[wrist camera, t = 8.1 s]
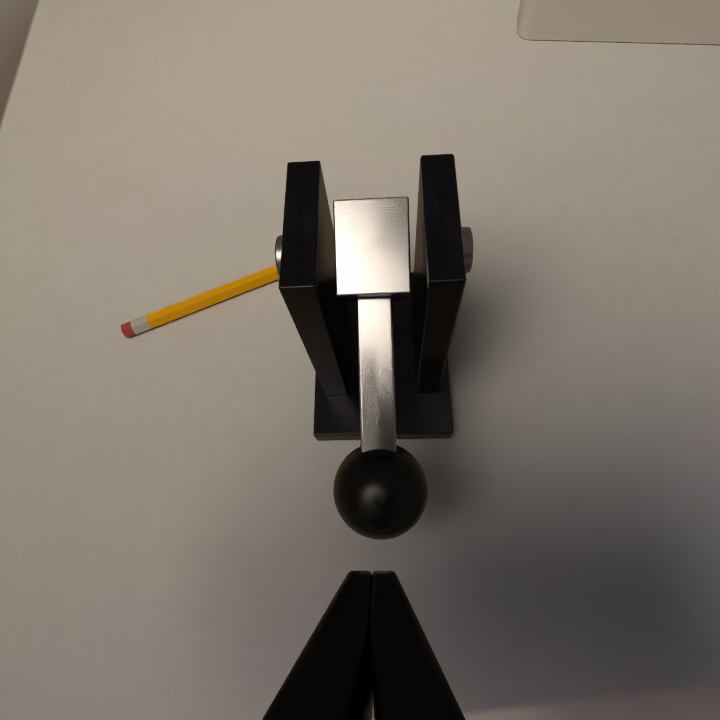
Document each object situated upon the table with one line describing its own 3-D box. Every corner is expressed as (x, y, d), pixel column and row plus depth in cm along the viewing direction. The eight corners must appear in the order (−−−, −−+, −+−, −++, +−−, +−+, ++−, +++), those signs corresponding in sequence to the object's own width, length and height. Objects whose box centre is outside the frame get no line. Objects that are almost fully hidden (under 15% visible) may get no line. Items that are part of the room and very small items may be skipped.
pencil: (126, 328, 25) (119, 322, 24) (365, 235, 26) (365, 226, 25) (129, 341, 25) (122, 335, 24) (371, 246, 26) (370, 238, 25)
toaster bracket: (451, 438, 21) (493, 343, 12) (316, 440, 22) (254, 350, 12) (439, 282, 24) (466, 106, 15) (321, 286, 25) (274, 118, 15)
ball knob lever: (425, 518, 17) (432, 556, 14) (340, 519, 17) (329, 556, 14) (417, 219, 17) (423, 191, 14) (330, 223, 17) (317, 197, 14)
